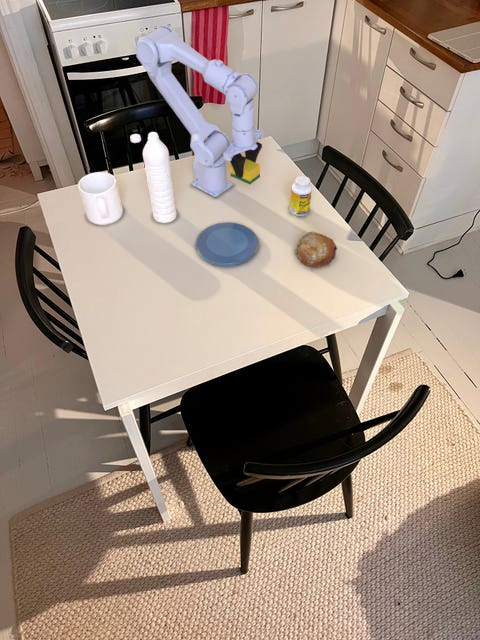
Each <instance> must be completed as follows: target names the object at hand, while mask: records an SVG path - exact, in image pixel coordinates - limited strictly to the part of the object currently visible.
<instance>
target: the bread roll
mask: <svg viewBox="0 0 480 640" xmlns="http://www.w3.org/2000/svg"><path fill="white" fill-rule="evenodd" d="M337 250H338V247H337V245H336V243H335V241H334V239H333V238H331V237H329V236H327V235H325V234H322V233H320V232H316V231H309V232H306V233H305V234H304V235H303V236H301V238H300V239H299V240H298V244H297V249H296V250H295V255H297V259H298V260H299V262H300V263H301V264H302V265H303V266H305V267H308V268H313V269H317V268H323V267H325V266H327V265H329V264H330V263H331V262H333V260H334V259H335V257H336V253H337Z"/></svg>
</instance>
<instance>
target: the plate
mask: <svg viewBox="0 0 480 640" xmlns="http://www.w3.org/2000/svg"><path fill="white" fill-rule="evenodd" d="M196 240H197V241H196V249H197V252H198V255H199V256H200V257H201V258H202V260H204V261H206V262H207V263H209V264H211V265H213V266H216V267H222V268H223V267H225V268H229V267H230V268H231V267H236V266H241V265H243V264H245V263H247V262H249V261H250V260H252V258H253V257H254V256H255V255H256V253H257V251H258V245H259V242H258V241H259V240H258V237H257V235H256V234H255V232H254V231H253V230H252V229H251V228H249V227H248V226H246V225H244V224H241V223H237V222H226V221H225V222H219V223H215V224H212V225H210V226H207V227H206V228H204V229H203V230H202V231H201V232H200V233H199V235H198V237H197V239H196Z"/></svg>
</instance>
